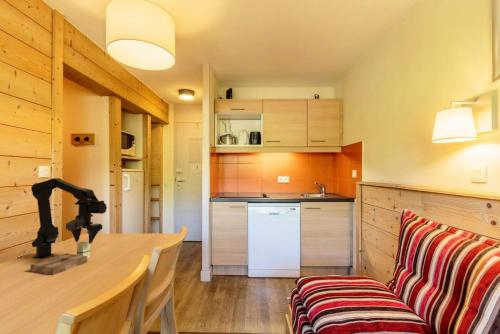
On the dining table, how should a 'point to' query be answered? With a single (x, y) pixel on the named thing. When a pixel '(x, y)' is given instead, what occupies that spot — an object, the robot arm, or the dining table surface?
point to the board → (58, 264)
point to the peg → (83, 248)
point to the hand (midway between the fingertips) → (83, 242)
